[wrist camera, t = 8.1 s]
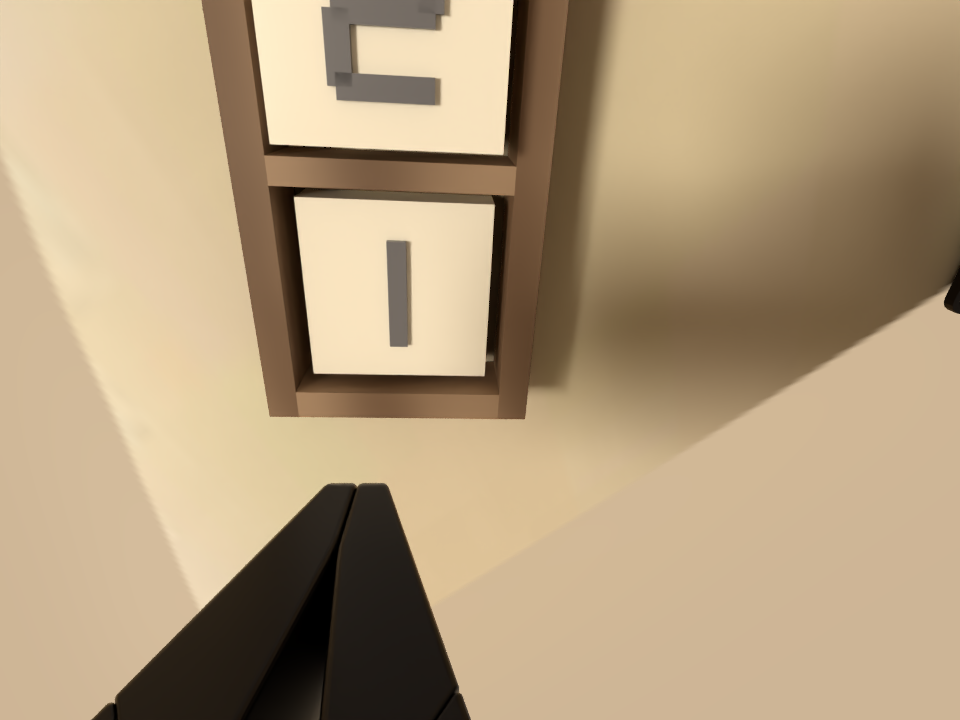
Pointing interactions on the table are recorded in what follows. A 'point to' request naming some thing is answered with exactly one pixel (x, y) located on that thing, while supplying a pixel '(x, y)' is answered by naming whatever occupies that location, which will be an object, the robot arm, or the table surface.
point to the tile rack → (278, 168)
